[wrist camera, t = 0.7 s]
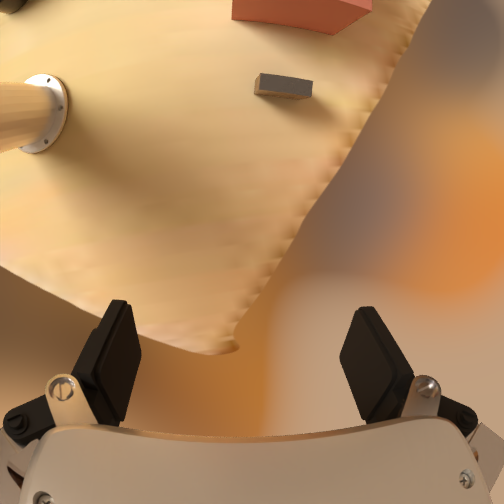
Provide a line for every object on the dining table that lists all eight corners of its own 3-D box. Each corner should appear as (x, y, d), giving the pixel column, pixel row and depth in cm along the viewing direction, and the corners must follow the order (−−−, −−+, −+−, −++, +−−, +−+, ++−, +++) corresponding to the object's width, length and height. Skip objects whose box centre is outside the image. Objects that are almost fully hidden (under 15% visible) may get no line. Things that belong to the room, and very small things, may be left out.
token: (254, 94, 33) (258, 89, 28) (255, 80, 32) (260, 73, 27) (298, 99, 34) (311, 96, 28) (300, 86, 33) (312, 81, 27)
